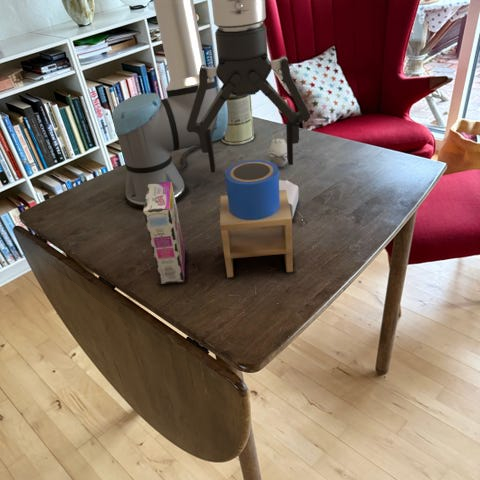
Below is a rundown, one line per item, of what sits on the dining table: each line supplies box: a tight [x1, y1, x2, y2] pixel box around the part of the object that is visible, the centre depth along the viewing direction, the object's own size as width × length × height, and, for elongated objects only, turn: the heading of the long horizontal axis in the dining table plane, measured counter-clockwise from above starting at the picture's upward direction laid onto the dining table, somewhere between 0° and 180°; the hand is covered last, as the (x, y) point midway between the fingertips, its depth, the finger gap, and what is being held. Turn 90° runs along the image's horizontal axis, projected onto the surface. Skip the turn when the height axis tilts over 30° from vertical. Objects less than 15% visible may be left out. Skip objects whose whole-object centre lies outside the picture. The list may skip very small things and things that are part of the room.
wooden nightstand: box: [219, 190, 294, 278], centre depth 91 cm, size 11×13×12 cm
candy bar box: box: [142, 182, 186, 285], centre depth 90 cm, size 11×5×16 cm, turn 4°
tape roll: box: [224, 159, 280, 220], centre depth 84 cm, size 10×10×7 cm
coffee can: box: [220, 93, 255, 146], centre depth 137 cm, size 10×10×14 cm
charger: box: [279, 179, 299, 220], centre depth 109 cm, size 5×9×15 cm
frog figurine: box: [267, 138, 288, 168], centre depth 123 cm, size 6×7×7 cm
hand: (251, 165), depth 81 cm, fingers open, 13 cm apart
